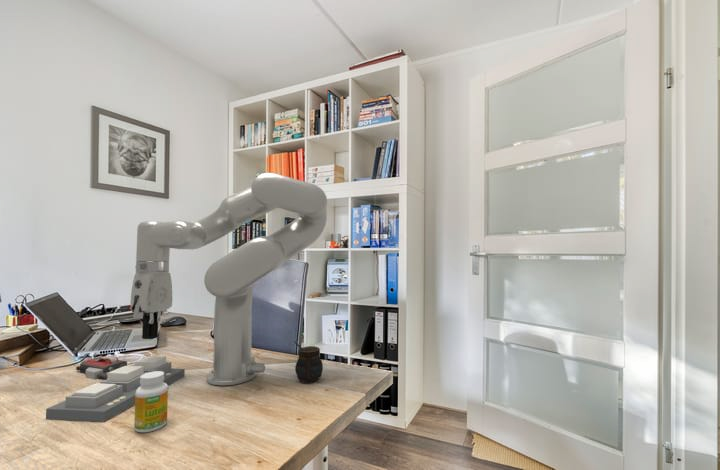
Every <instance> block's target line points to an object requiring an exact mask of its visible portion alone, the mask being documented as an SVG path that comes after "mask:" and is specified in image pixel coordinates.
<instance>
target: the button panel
mask: <svg viewBox="0 0 720 470" xmlns="http://www.w3.org/2000/svg"><path fill="white" fill-rule="evenodd" d="M154 371H162V372H164V381H163V382H164V383H166V384H167V385H168V386H170V385H171V384H174V383H176V382H177V381H179V380H181V379H182V378H184V377H185V372H186V371H185V368H172V362H171V361H170V362H169V361H166V364H165V365H163V366H160V367H158V368H156V369H154V370H144V374H145V373H148V372H154ZM99 383H101V384H116V388H114V389H111V390H109V391H107V392H105V393H103V394H101V395H99V396H96V397H86V396H74V393H72V394H69V395H67V396H65V399H64V400H63V401H60V402H59V403H56V404H55V405H51V406H49V407H47V408H46V410H45V411H46V412H45V419H46V420H57V421H58V420H59V421H62V420H63V421H75V422H76V421H78V422H79V421H80V422H93V423H94V422H95V423H98V422H99V423H104V422H106V421H109V420H111V419H112V418H115V416H117V415H119V414H121V413H122V412H124V411H126V410H128V409H129V408H131V407H134V406H135V393H136V390H137V389H138V388H139V387H140V386H141V385H140V376H139V377H137V378H135V379H133V380H131V381H128V382H110V381H107V379H104V380H102V381H100V382H99Z"/></svg>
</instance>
